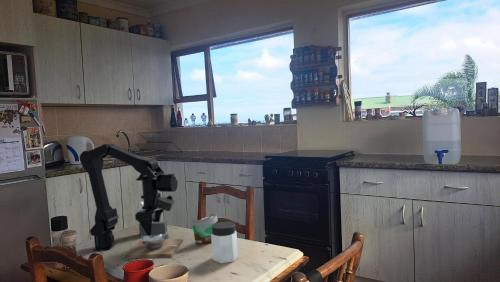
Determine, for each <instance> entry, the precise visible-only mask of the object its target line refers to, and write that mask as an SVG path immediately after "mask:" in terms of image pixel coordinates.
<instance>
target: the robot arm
mask: <svg viewBox="0 0 500 282" xmlns="http://www.w3.org/2000/svg"><path fill="white" fill-rule="evenodd" d="M108 156H110V157H112V158H114V159H116V160H118V161H120V162H123V163H124V164H127V165H129V166H131V167H132V168H133V170H135V171H136V172H137V173H139V176H138V177H136V179H135V180H136V182H137V181H139V182H140V181H141V186H142V187H141V188H142V189H141V190H142V195H140V198H141V199H142V200H143V203H144V206H142V209H146V210H141V209H139V210H138V211H137V212H136V213H135V214H134V218H135V221H137V222H138V224H141V226H142V227H143V229H144V230H145V232H146V234H147V235H148V236H151V228H152V221H153V222H161V218H162V215H163V212H164V211H166V212H170V211H171V210H172V209H173V208H174V207H173V206H174V204H175V202H176V201H175V199H174V196H173V195H170V194H169V195H167V197H163V196H162V194H161V193H163V192H164V193H166V192H168V193H171V192H172V193H175V192H176V191H177V189H178V186H179V183H178V179H177V177H176V176H175V173H174V172H172V173H165V172H164V170H163V169H162V168H161V166H160V165H159V162H158V160H157V159H156V158H153V157H149V156H142V155H138V154H136V153H133V152H130V151H128V150H126V149H123V148H122V147H120V146H117V145H115V144H114V143H110V142H109V143H103V144H101V145H99V146H97V147H95V148H93V149H89V150H84V151H82V152H81V153H80V155H79V161H80V165H81V166H82V168H83V170H84V171H85V172H86V173H87V174H88V178H89V182H90V187H91V191H92V195H93V199H94V203H95V207H96V209H95V213H94V214H95V215H94V225H93V226H92V227H91V228H90V229H89V233H90V235H91V236H92V237H93V238H94V239H93V241H94V248H93V249H92V251H108V250H110V249H112V248H113V247H114V246H115V245H116V242H115V235H114V233H113V230H115V228H116V225H117V224H118V222H119V220H118V219H119V218H120V217H119V215H118V210H117V208H112V206H111V204H110V201H109V198H108V192H107V188H106V184H105V181H104V176H103V172H102V171H103V166H104V159H105V158H107V157H108Z"/></svg>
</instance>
